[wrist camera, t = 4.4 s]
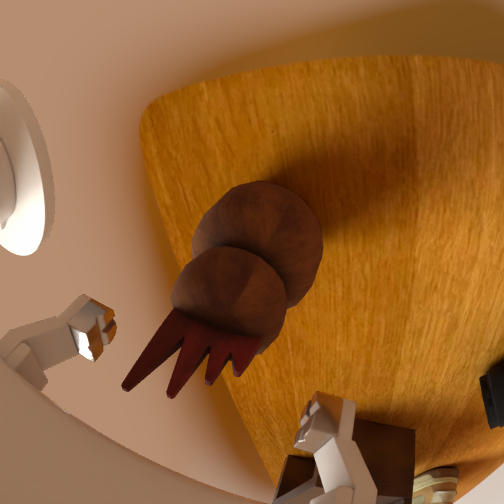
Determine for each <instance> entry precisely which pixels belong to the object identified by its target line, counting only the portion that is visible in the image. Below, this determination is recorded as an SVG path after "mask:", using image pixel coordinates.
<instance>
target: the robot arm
mask: <svg viewBox="0 0 504 504" xmlns="http://www.w3.org/2000/svg"><path fill="white" fill-rule="evenodd" d="M15 202H16V190H15V181H14V175H13V171H12V167H11V163H10V160H9V157H8V154H7V152H6V149H5V147H4V145H3V143H2V141H1V139H0V231H1V230H3V229H4V228H5V226H6V221H7V219H8V218H9V217H10V216H11V215H12V213H13V211H14V208H15ZM114 316H115V314H114V310H112V309H110V308H109V307H107V306H105V305H103V304H101V303H99V302H97V301H96V300H94V299H92V298H90V297H88V296H87V295H85V294H83V295H80V296H79V297H78V298H77V299H76V300H75V301H74V302H73V303H72V304H71V305H70V306H69V307H68V308H67V309H66V310H65V311H64V312H63V313H62V314H61V315H60V316H59V317H58V318H57V317H51V318H48V319H45V320H41V321H38V322H35V323H31V324H28V325H25V326H21V327H18V328H15V329H12V330H10V331H9V332H8V333H7V334H6V335H5V336H4V337H3V338H2V339H1V340H0V504H266V503H262V502H259V501H255V500H252V499H248V498H245V497H242V496H239V495H236V494H232V493H229V492H226V491H223V490H220V489H218V488H215V487H212V486H209V485H207V484H204V483H202V482H199V481H196V480H194V479H192V478H189V477H187V476H184V475H182V474H180V473H177V472H175V471H173V470H170V469H168V468H166V467H164V466H161V465H159V464H157V463H155V462H153V461H151V460H149V459H147V458H145V457H143V456H141V455H139V454H137V453H135V452H134V451H132V450H130V449H128V448H126V447H124V446H122V445H121V444H119V443H117V442H115V441H114V440H112V439H110V438H108V437H107V436H105V435H103V434H102V433H100V432H98V431H97V430H95V429H93V428H92V427H90V426H89V425H87V424H86V423H84V422H82V421H81V420H79V419H78V418H76V417H75V416H74V415H72V414H70V413H69V412H68V411H66V410H65V409H63V408H62V407H60V406H59V405H58V404H56V403H55V402H54V401H52V400H51V399H50V398H48V397H47V396H46V395H44V394H43V393H42V392H41V391H42V389H43V388H44V387H45V385H46V384H47V383H48V380H47V378H46V376H45V374H44V372H43V371H44V370H46V369H48V368H50V367H52V366H54V365H57V364H59V363H61V362H63V361H65V360H67V359H70V358H72V357H74V356H76V355H78V353H79V354H81V355H82V356H84V357H86V358H88V359H89V360H91V361H93V362H95V361H96V360H97V359H98V357H99V356H100V355H101V353H102V352H103V346H104V345H107V344H110V342H111V341H112V339H113V338H114V336H115V334H116V329H117V326H116V323H115V321H114V320H113V317H114ZM355 409H356V403H355V401H352V400H348V399H344V398H342V397H338V396H334V395H330V394H327V393H323V392H319V391H316V392H315V393H314V394H313V397H312V400H310V401H308V403H307V404H306V406H305V408H304V410H303V412H302V415H301V419H300V425H301V428H300V429H299V431H298V432H297V434H296V438H295V442H294V446H293V447H294V448H297V449H301V450H304V451H308V452H311V453H314V458H315V461H316V464H317V467H318V471H319V474H320V477H321V481H322V484H323V487H324V490H325V493H324V494H322V495H320V496H318V497H316V498H314V499H312V500H311V501H310V504H376V498H377V491H378V490H377V488H376V486H375V484H374V481H373V479H372V477H371V475H370V473H369V470H368V468H367V466H366V464H365V462H364V460H363V457H362V455H361V453H360V451H359V449H358V447H357V444H356V442H355V441H352V433H353V426H354V417H355Z"/></svg>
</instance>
